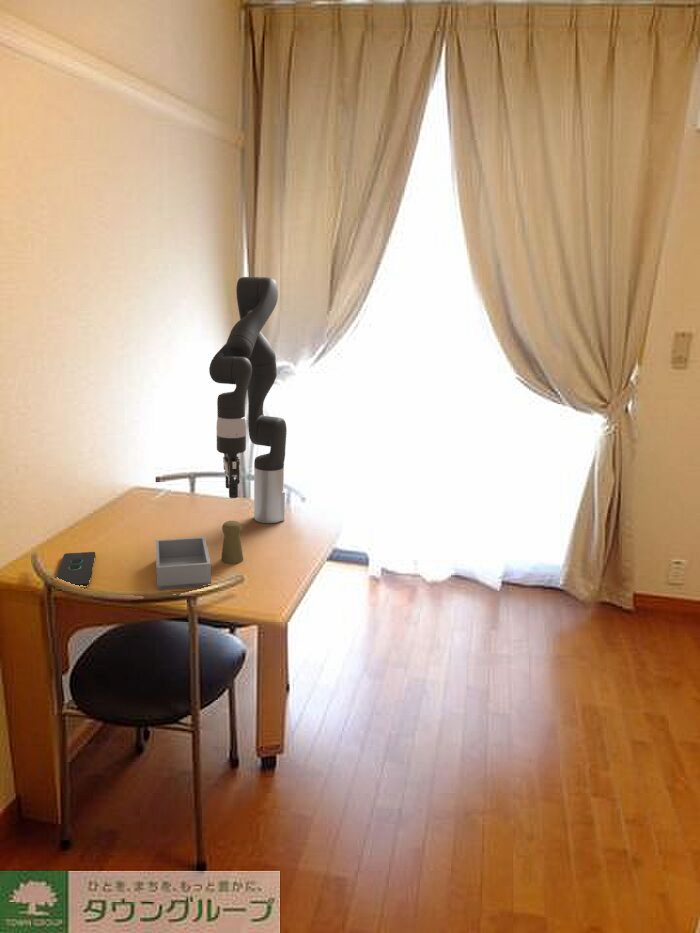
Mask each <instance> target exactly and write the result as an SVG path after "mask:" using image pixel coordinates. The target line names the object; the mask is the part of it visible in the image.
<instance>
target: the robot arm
mask: <svg viewBox="0 0 700 933" xmlns="http://www.w3.org/2000/svg"><path fill="white" fill-rule="evenodd" d="M235 289H236V290H235V292H236V302H237V309H238V314H239V320H238V321H237V322H236V323H235V324H234V325H233V327H232V329H231V330H230V332H229V335H228V338H227V339H226V340H227V341H226V343H225V344H224V345H223V346H222V347H221V348H220V349H219V351H217V352H216V353H215V355H214V356H213V358H212V359H211V361H210V363H209V364H210V365H209V371H208V372H209V376H210V379H211V380H212V381H213V382H215V383H217V384H224V385H235V389H234V390H232V391H229V392H228V391H227V392H222V393H220V394H218V396H217V400H216V401H217V402H216V405H217V407H216V408H217V417H216V418H217V419H216V451H217V452H218V453H221V454H223V456H222V459H223V460H222V461H223V465H222V466H223V470H224V475H225V488H226V489H228V498H230V499H237V498H238V496H239V485H240V473H241V472H240V465H241V464H240V463H241V461H240V460H241V459H240V458H239V456H238V454H243V453H245V452H246V449H247V424H248V437H249V439H250V440H249V441H250V442H251V443H252V444H253V445H257V446H264V447H270V450H269V453H265V454H261V455H258V456H256V457H255V458H254V461H253V462H254V463H253V464H254V465H253V467H254V468H253V469H254V471H253V473H254V476H253V480H254V481H253V482H254V483H253V485H254V487H253V490H254V492H253V493H254V494H253V497H254V498H253V505H254V506H253V508H254V509H253V510H254V511H253V514H254V516H253V519H254V521H256V522H258V523H261V524H262V523H263V524H275V523H280V522H284V521H285V515H286V514H285V513H286V510H285V508H286V507H285V506H286V502H285V501H286V492H285V490H284V489H285V488H284V486H285V485H284V480H285V479H284V478H285V477H284V476H285V474H284V473H285V472H284V471H285V459H286V444H287V434H288V433H287V432H288V431H287V423H286V421H285V419H284V418H282V417H279V416H278V417H277V416H268V415H264V403H265V400H266V398H267V396H268V394H269V392H270V390H271V389H272V387H273V385H274V384H275V381H276V380H277V375H278V374H277V372H278V370H277V357H276V352H275V350H274V349H273V347H272V345H271V343H270V342H269V341H268V339H267V338H266V337H265V336H264V334H263V333H262V330H263V328H264V326H265V325H266V323H267V321H268V320H269V318H270V317H271V315H272V313H273V311H274V310H275V308H276V306H277V302H278V300H279V299H278V298H279V290H278V285H277V282H276V280H275V279H274V278H272V277H268V276H267V277H265V276H242V277H240V278H238V280H237V282H236V288H235ZM246 398H247V401H248V404H247V405H248V406H247V410H248V415H247V416H248V420H247V422H248V423H247V422H246V412H245V411H246ZM246 423H247V424H246Z"/></svg>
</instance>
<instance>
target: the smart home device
mask: <svg viewBox="0 0 700 933" xmlns="http://www.w3.org/2000/svg"><path fill="white" fill-rule="evenodd" d="M94 558H95V559H96V552H95V551H87V552H83V551H82V552H68V553H64V554H63V556H62V560H61V562H60V565H59V567H58V570H57V573H56V576H55V578H56V577H58V578H59V579H62V580H64V581H66V582H70V583H71V584H75V585H79V586H80V585H83V586H87V585H88V584H89V585H90V583H89V580H90V578H91V579H92V576H91V574H92V575H93V570H92V567H93V568H94V566H93V563H94V564H95V561H94Z"/></svg>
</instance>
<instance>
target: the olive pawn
mask: <svg viewBox="0 0 700 933" xmlns="http://www.w3.org/2000/svg"><path fill="white" fill-rule="evenodd" d="M221 528H222V529H221V530H222V533H223V535H224V536H223V542H222V550H221V558H220V561H221V563H223V564H226V565H238V564H240V563H242V562H244V556H243V549H242V540H241V532H242V531H243V530H242V529H243V527H242V524H241V522H240V521H237V520H228V521H225V522H224V523H223V524H222V526H221Z"/></svg>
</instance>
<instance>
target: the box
mask: <svg viewBox="0 0 700 933" xmlns="http://www.w3.org/2000/svg"><path fill="white" fill-rule="evenodd" d="M155 565H156V566H155V568H156V569H155V570H156V590H157V591H161V590H162V591H165V590H174V589H175V590H176V589H186V588H201V587H204V586H203V585H208V584H211V585H212V573H211V572H212V571H211V570H212V568H211V565H212V564H211V560H210V554H209V549H208V545H207V540H206V536H201V537H186V538H182V537H181V538H169V539H167V538H166V539H156V540H155ZM200 586H201V587H200Z"/></svg>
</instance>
